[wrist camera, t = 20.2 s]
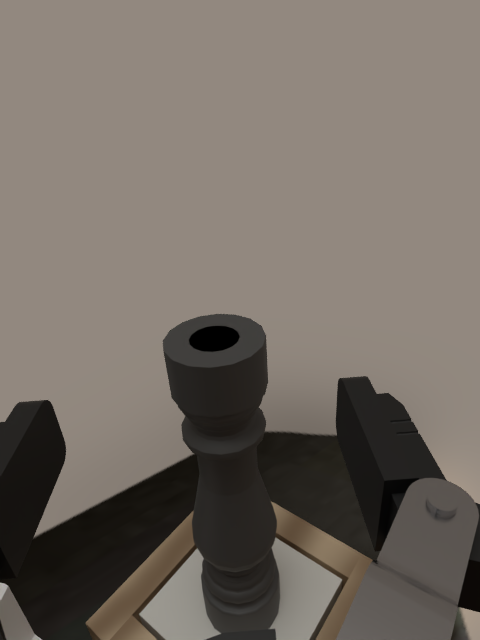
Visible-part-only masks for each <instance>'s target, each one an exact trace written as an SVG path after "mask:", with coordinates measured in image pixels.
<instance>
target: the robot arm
mask: <svg viewBox="0 0 480 640" xmlns="http://www.w3.org/2000/svg"><path fill="white" fill-rule="evenodd" d="M336 411H337V412H336V429H337V437H338V441H339V445H340V448H341V451H342V454H343V457H344V460H345V463H346V466H347V469H348V472H349V475H350V478H351V481H352V484H353V487H354V490H355V493H356V496H357V499H358V502H359V505H360V508H361V511H362V514H363V517H364V520H365V523H366V526H367V529H368V532H369V535H370V538H371V541H372V544H373V547H374V550H375V551H381V552H380V554H379V556H378V558H377V560H376V561H374V560H373V561H372V562H371V563H370V565H369V566H368V568H367V570H366V572H365V575H364V577H363V579H362V581H361V584H360V586H359V588H358V591H357V593H356V595H355V597H354V600H353V602H352V604H351V606H350V609H349V611H348V613H347V615H346V618H345V620H344V622H343V625H342V627H341V629H340V631H339V634H338V636H337V638H336V640H450V639H451V635H452V631H453V627H454V623H455V619H456V614H457V610H458V607H461V608H465V609H469V610H473V611H477V612H480V504H478V503H475V502H474V500H473V499H472V498H471V496H469V494H468V493H466V491H464V490H463V489H462V488H460V487H459V486H457V485H455V484H453V483H451V482H449V481H447V480H446V479H445V477H444V475H443V474H442V472H441V470H440V468H439V467H438V465H437V463H436V462H435V460H434V458H433V456H432V454H431V453H430V451H429V449H428V447H427V446H426V444H425V442H424V440H423V439H422V437H421V435H420V434H418V430H417V429H416V427H415V425H414V423H413V422H411V418H410V416H409V414H408V413H407V411H406V409H405V407H404V406H403V405H402V404H401V403H400V402H399V401H398V400H396V399H395V398H394V397H393V396H391V395H390V394H389V393H384V394H376V392H375V390H374V388H373V386H372V384H371V382H370V380H369V379H368V377H366V376H363V377H350V378H340V379H339V381H338V391H337V410H336ZM65 455H66V446H65V441H64V438H63V435H62V432H61V429H60V426H59V423H58V420H57V417H56V415H55V412H54V409H53V406H52V404H51V402H50V401H48V400H42V401H29V402H19V403H18V404H17V405H16V406H15V407H14V409H13V411H12V412H11V414H10V415H9V417H8V418H7V420H6V421H5V422H0V579H11V578H17V576H18V573H19V571H20V568H21V566H22V563H23V561H24V559H25V556H26V554H27V551H28V549H29V547H30V544H31V542H32V539H33V537H34V535H35V532H36V530H37V527H38V525H39V522H40V520H41V518H42V515H43V513H44V510H45V508H46V505H47V503H48V501H49V498H50V496H51V494H52V491H53V489H54V486H55V484H56V481H57V479H58V477H59V474H60V472H61V469H62V467H63V464H64V461H65ZM0 640H6V637H5V634H4V630H3V627H2V624H1V621H0ZM206 640H276V631H275V629H264V630H251V631H239V632H226V633H221V634H219V635H216V636H214V637H211V638H208V639H206Z"/></svg>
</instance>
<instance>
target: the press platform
mask: <svg viewBox="0 0 480 640" xmlns="http://www.w3.org/2000/svg"><path fill="white" fill-rule="evenodd" d="M271 548H272V550H273V554H274V558H275V560H276V563H277V567H278V571H279V578H280V603H279V611H278V615H277V616H276V618H275V620H274V622H273V624H272V625H271V627H270V628H269V629H275V631H276V640H316V638H317V636H318V634H319V632H320V630H321V628H322V627H323V625H324V623H325V621H326V619H327V617H328V616H329V614H330V612H331V610H332V608H333V606H334V604H335V603H336V601H337V599H338V597H339V595H340V593H341V589H342V579H341V578H339V577H338V576H336V575H334V574H333V573H331V572H330V571H328V570H326V569H325V568H323V567H322V566H320V565H319V564H317V563H315V562H314V561H312V560H311V559H309V558H307V557H306V556H304V555H303V554H301V553H300V552H298V551H296V550H295V549H293V548H292V547H290V546H288V545H287V544H285V543H284V542H282V541H280V540H279V539H277V538H276V537H275V541H274V544H273V546H272V547H271ZM203 559H204V558H203V556H202V555H201V553H200V552H199V550H198V548H197V549H196V550H195V551H194V552H193V554H192V555H191V556H190V557H189V558H188V559H187V560H186V562H185V563H184V564H183V565H182V566H181V567H180V568H179V570H178V571H177V572H176V573H175V574H174V575H173V576H172V577H171V579H170V580H169V581H168V582H167V583H166V584H165V585H164V587H163V588H162V589H161V590H160V591H159V592H158V593H157V594H156V596H155V597H154V598H153V599H152V600H151V601H150V602H149V604H148V605H147V606H146V607H145V608H144V609H143V610H142V612H141V613H140V614H139V616H140V619H141V622H142V625H143V626H144V627H145V628H146V629H147V630H148V631H149V632H150V633H151V634H152V635H153V636H154V637H155V638H156V639H157V640H206V639H208V638H211V637H214V636H216V635H219V634H221V633H220V632H218V631H217V630H216V629H214V627H213V625H212V623H211V621H210V620H209V618H208V616H207V613H206V608H205V602H204V597H203V591H202V582H201V574H202V570H203V569H202V562H203Z"/></svg>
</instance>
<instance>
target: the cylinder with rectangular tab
mask: <svg viewBox="0 0 480 640" xmlns="http://www.w3.org/2000/svg"><path fill="white" fill-rule="evenodd" d="M0 621H1V624H2V627H3V630H4V634H5V637H6V640H42V639H41V638H39V637H38V636H36V635H35V634H34V632H33V630H32V629H31V627H30V625H29V623H28V621H27V619H26V618H25V616H24V614H23V612H22V610H21V608H20V607H19V605H18V603H17V601H16V599H15V597H14V596H13V594H12V592H11V590H10V588H9V586H7V585H6V584H3V583H0Z"/></svg>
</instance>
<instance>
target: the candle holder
mask: <svg viewBox="0 0 480 640" xmlns="http://www.w3.org/2000/svg"><path fill="white" fill-rule="evenodd" d="M163 349H164V356H165V362H166V368H167V373H168V379H169V385H170V390H171V395H172V399H173V400H174V401H175V402H176V403H177V405H178V407H179V408H180V410H181V411H182V412H183V413H184V415H185V418H184V421H183V423H182V434H183V440H184V442H185V443H186V445H187V446H188V447H189V449H190V450H191V451H192V452H193V453H195V454H197V459H198V465H199V472H200V475H199V482H198V488H197V494H196V500H195V506H194V512H193V518H192V530H193V539H194V544H195V545H196V547H197V548H198V550H199V552H200V553H201V555H202V556H203V558H204V559H203V562H202V569H203V570H202V574H201V582H202V591H203V597H204V602H205V608H206V613H207V616H208V618H209V620H210V621H211V623H212V625H213V627H214V629H216V630H217V631H218V632H220V633H226V632H239V631H251V630H264V629H269V628H270V627H271V625H272V624H273V622H274V620H275V618H276V616H277V615H278V611H279V603H280V578H279V571H278V567H277V563H276V560H275V558H274V554H273V550H272V548H271V547H272V546H273V544H274V541H275V536H276V529H277V519H276V515H275V512H274V509H273V505H272V503H271V500H270V498H269V496H268V493H267V491H266V488H265V486H264V483H263V481H262V478H261V475H260V473H259V470H258V466H257V450H256V446H257V445H258V444H259V443H260V442H261V441H262V439H263V436H264V431H265V427H266V420H265V418H264V415H263V412H262V410H261V409H260V408H259V406H260V404H261V401H262V397H263V395H264V394H265V392H266V388H267V384H268V372H267V350H266V335H265V333H264V331H263V328H262V326H261V325H259V324H257V323H256V322H254V321H253V320H251V319H249V318H245V317H241V316H237V315H228V314H215V315H208V316H200V317H197V318H194V319H191V320H188V321H185V322H182V323H181V324H179V325H178V326H176V327H175V328H173V329H172V330H170V331H169V333H168V334H167V336H166V337H165V339H164V340H163Z"/></svg>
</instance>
